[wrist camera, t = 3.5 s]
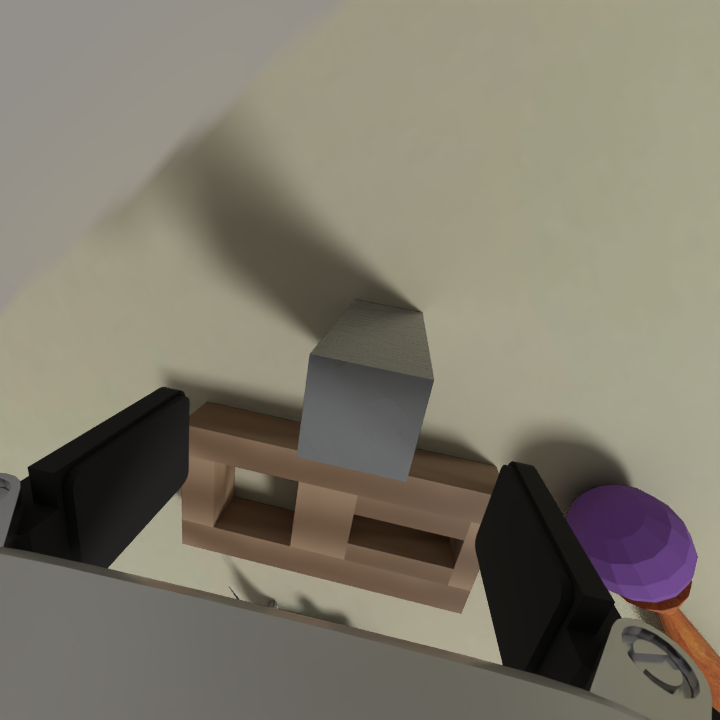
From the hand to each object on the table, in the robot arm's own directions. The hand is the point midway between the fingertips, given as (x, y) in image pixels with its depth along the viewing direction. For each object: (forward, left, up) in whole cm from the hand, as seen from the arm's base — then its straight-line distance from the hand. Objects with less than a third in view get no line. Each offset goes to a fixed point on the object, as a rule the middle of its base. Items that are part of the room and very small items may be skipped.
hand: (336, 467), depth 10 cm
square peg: (-1, 0, -12) cm, 12 cm away
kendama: (+13, +22, -12) cm, 28 cm away
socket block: (+11, -1, -12) cm, 16 cm away
